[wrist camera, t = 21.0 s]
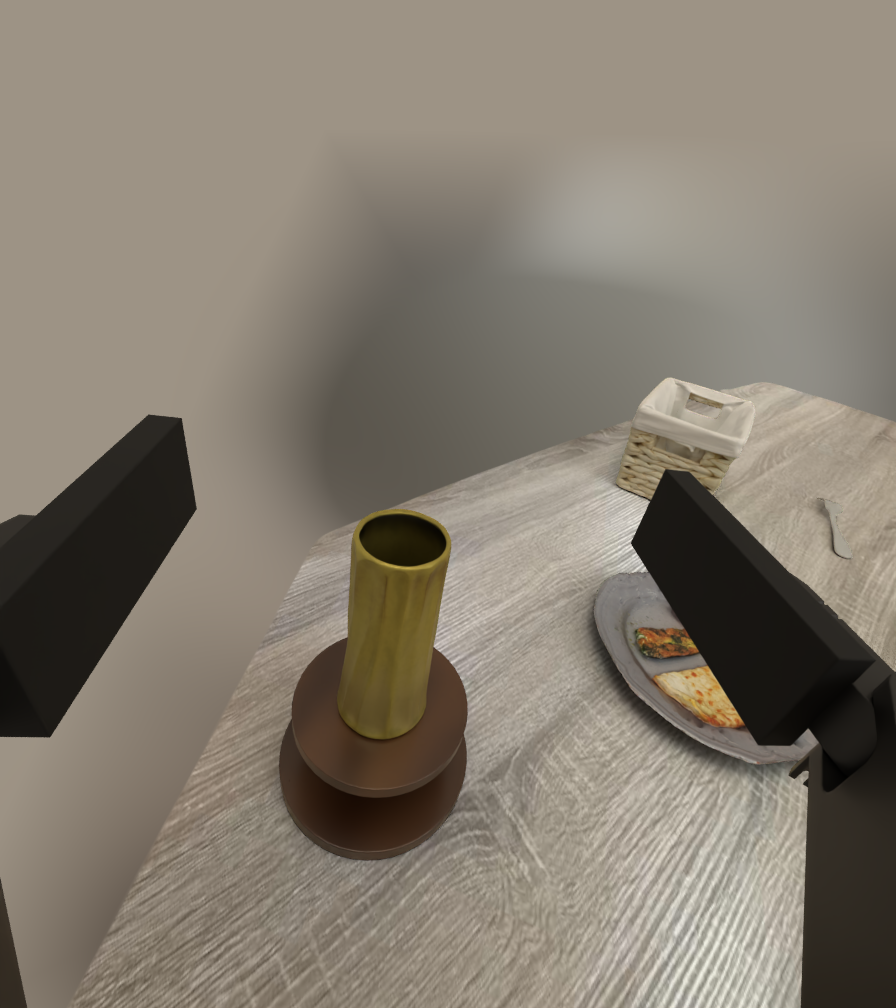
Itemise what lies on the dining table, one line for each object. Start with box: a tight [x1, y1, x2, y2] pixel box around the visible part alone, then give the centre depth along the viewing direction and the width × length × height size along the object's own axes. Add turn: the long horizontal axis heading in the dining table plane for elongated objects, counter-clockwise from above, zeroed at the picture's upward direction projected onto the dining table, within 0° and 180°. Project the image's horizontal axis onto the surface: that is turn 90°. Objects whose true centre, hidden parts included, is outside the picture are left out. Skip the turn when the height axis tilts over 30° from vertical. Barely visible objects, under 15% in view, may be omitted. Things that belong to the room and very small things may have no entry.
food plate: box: [593, 572, 819, 765], centre depth 49 cm, size 25×23×4 cm
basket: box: [616, 378, 756, 500], centre depth 81 cm, size 24×16×15 cm
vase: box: [337, 509, 451, 739], centre depth 29 cm, size 6×6×14 cm
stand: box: [279, 637, 467, 860], centre depth 35 cm, size 14×14×7 cm
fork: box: [817, 498, 853, 559], centre depth 80 cm, size 3×21×3 cm, turn 152°
